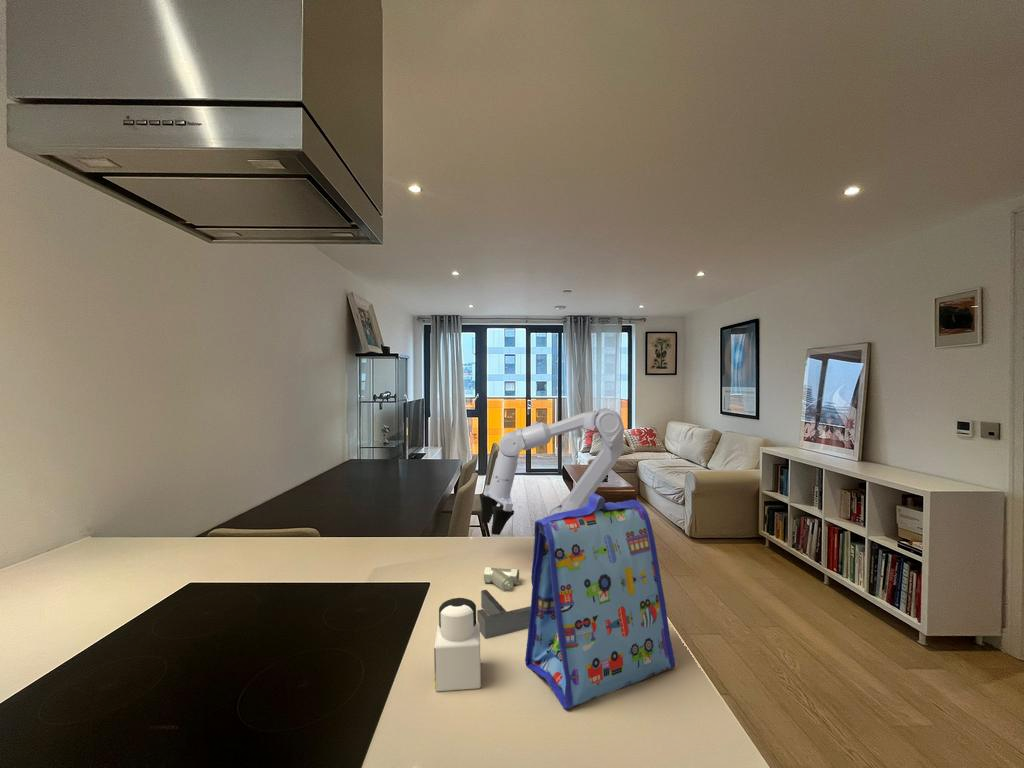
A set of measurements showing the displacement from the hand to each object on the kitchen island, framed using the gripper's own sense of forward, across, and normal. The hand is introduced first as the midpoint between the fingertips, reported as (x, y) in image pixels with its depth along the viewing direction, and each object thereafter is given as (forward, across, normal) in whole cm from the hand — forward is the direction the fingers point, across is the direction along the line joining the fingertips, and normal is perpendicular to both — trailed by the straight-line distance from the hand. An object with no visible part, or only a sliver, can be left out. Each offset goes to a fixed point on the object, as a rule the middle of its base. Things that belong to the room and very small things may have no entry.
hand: (490, 528), depth 120 cm
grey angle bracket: (+8, +25, 0) cm, 26 cm away
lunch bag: (+4, +48, +2) cm, 48 cm away
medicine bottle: (+10, +40, -19) cm, 46 cm away
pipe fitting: (+10, +11, +1) cm, 15 cm away
